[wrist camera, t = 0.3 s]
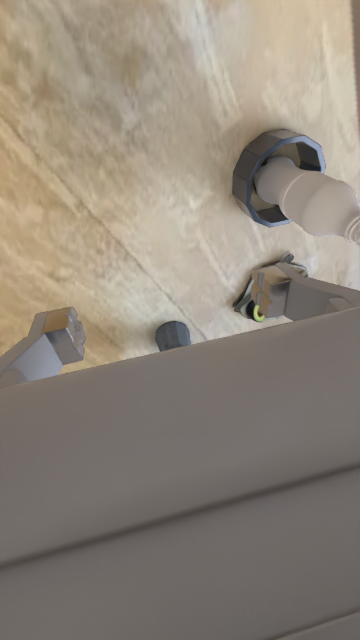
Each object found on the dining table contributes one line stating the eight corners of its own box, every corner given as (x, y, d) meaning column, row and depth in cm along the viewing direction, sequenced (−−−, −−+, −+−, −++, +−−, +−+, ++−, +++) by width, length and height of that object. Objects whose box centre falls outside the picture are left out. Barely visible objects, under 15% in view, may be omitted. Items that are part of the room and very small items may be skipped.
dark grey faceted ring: (234, 137, 43) (249, 144, 39) (311, 123, 44) (335, 129, 40) (231, 220, 52) (244, 233, 48) (295, 206, 54) (313, 218, 49)
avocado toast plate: (257, 246, 58) (267, 256, 55) (320, 255, 64) (333, 265, 61) (226, 314, 70) (233, 326, 66) (282, 316, 76) (291, 327, 72)
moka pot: (154, 313, 63) (172, 383, 49) (206, 325, 71) (235, 389, 57) (138, 340, 68) (151, 411, 54) (189, 349, 76) (212, 414, 61)
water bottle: (276, 142, 45) (399, 188, 27) (292, 176, 49) (407, 233, 31) (242, 176, 47) (334, 238, 29) (260, 204, 52) (350, 274, 34)
